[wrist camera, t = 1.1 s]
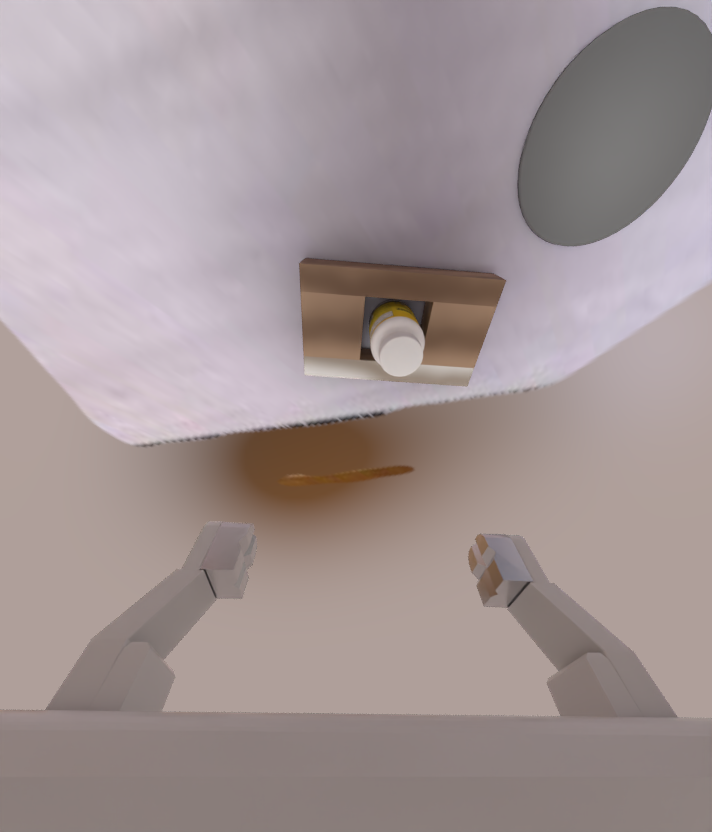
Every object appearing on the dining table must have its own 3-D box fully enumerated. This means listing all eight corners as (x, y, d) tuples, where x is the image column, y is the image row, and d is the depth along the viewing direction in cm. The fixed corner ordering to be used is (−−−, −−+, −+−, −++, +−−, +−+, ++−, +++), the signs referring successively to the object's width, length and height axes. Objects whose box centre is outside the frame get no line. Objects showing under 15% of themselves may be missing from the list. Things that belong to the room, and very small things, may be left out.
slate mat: (569, 1, 19) (574, -5, 19) (762, 22, 19) (772, 18, 19) (494, 239, 27) (496, 240, 27) (629, 251, 28) (633, 251, 27)
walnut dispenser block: (305, 258, 29) (299, 263, 26) (492, 273, 29) (506, 280, 27) (308, 362, 36) (304, 375, 33) (459, 373, 37) (467, 386, 34)
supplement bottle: (423, 326, 33) (442, 362, 25) (385, 352, 35) (392, 393, 27) (397, 288, 30) (410, 315, 23) (359, 318, 32) (359, 354, 25)
